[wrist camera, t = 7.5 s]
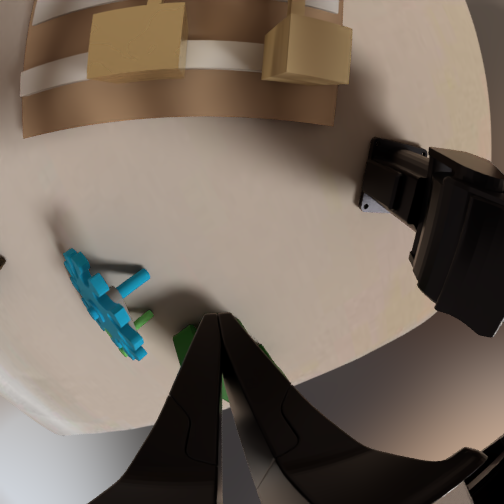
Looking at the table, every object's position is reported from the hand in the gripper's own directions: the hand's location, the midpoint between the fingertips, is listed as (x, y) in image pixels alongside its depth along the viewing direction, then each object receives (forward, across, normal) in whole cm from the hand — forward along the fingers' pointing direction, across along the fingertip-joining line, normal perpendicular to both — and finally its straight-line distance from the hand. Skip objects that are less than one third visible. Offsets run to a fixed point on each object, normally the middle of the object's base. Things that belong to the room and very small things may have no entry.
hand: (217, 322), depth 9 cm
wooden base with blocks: (+13, +2, -12) cm, 18 cm away
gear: (+13, +8, +8) cm, 18 cm away
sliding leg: (+11, +3, -12) cm, 17 cm away
